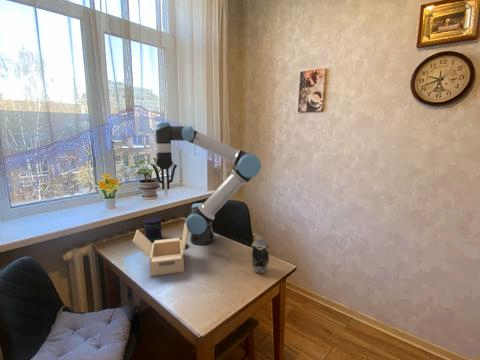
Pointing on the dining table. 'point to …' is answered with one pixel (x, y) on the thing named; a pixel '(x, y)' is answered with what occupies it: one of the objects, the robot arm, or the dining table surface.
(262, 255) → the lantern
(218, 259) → the dining table surface
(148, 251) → the flap
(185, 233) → the flap
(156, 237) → the dark blue barrel
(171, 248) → the carton
